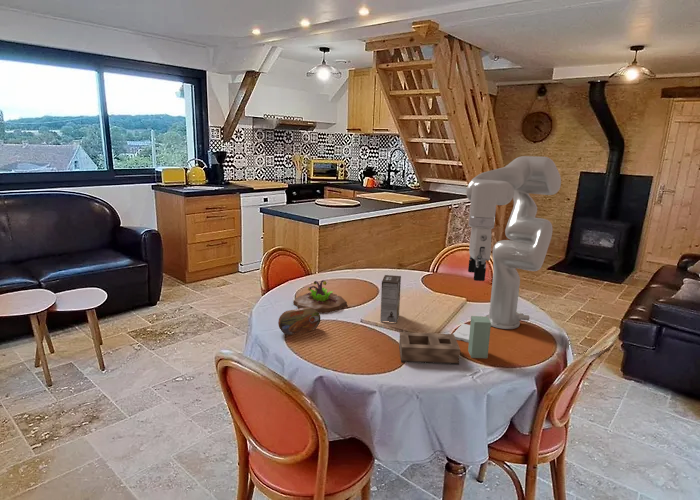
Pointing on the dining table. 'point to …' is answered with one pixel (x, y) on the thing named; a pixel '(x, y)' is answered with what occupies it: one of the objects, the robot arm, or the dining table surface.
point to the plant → (320, 299)
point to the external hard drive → (462, 333)
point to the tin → (299, 321)
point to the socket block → (429, 348)
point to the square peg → (479, 337)
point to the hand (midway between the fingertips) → (476, 276)
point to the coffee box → (390, 298)
